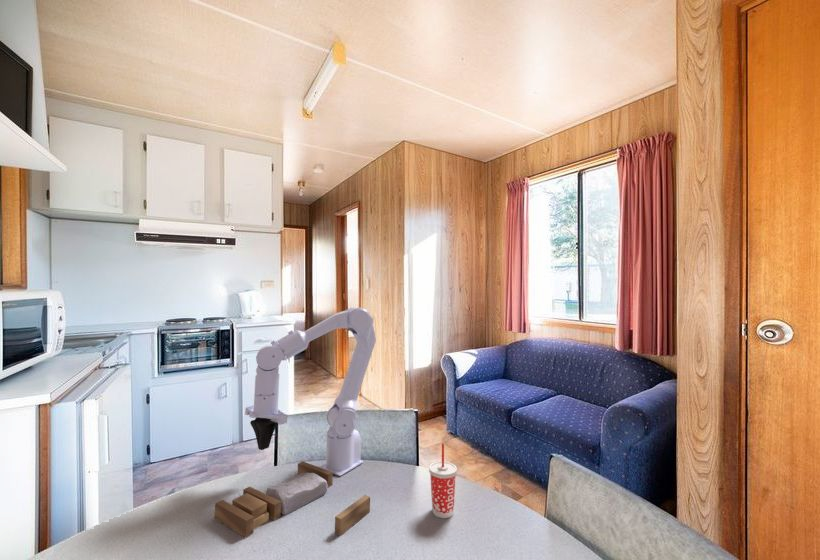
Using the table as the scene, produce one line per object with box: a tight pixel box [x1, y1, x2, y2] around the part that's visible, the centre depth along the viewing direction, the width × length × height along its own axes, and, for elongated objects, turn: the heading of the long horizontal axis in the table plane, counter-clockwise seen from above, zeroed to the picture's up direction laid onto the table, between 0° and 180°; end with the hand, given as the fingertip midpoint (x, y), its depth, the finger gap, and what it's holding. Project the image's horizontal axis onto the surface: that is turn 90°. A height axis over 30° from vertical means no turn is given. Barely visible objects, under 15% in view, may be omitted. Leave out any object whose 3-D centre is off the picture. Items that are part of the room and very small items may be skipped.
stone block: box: [265, 473, 329, 516], centre depth 76 cm, size 12×5×10 cm
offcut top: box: [231, 493, 267, 519], centre depth 68 cm, size 3×7×2 cm, turn 58°
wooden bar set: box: [214, 461, 371, 539], centre depth 70 cm, size 23×26×3 cm
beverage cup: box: [428, 442, 458, 519], centre depth 71 cm, size 6×6×14 cm
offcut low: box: [253, 512, 270, 531], centre depth 67 cm, size 4×8×2 cm, turn 59°
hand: (263, 448), depth 83 cm, fingers closed
